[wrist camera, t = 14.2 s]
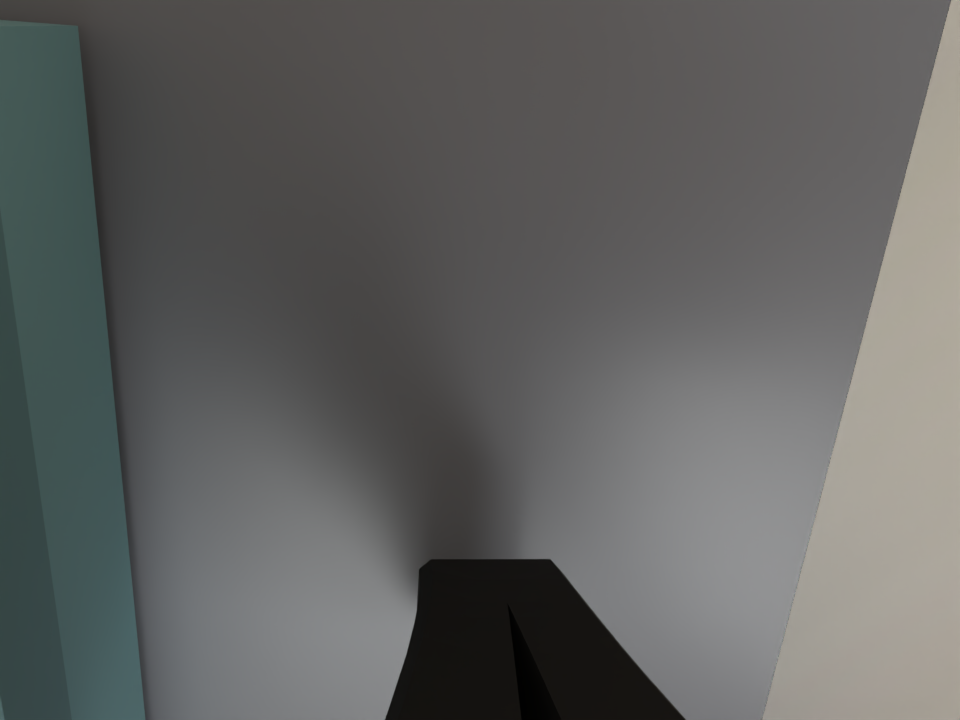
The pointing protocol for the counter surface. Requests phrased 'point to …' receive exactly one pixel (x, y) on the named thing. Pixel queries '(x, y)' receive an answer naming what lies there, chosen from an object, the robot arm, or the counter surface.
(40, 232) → the keeper plate
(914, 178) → the counter surface
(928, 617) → the counter surface
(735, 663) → the housing
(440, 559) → the robot arm
